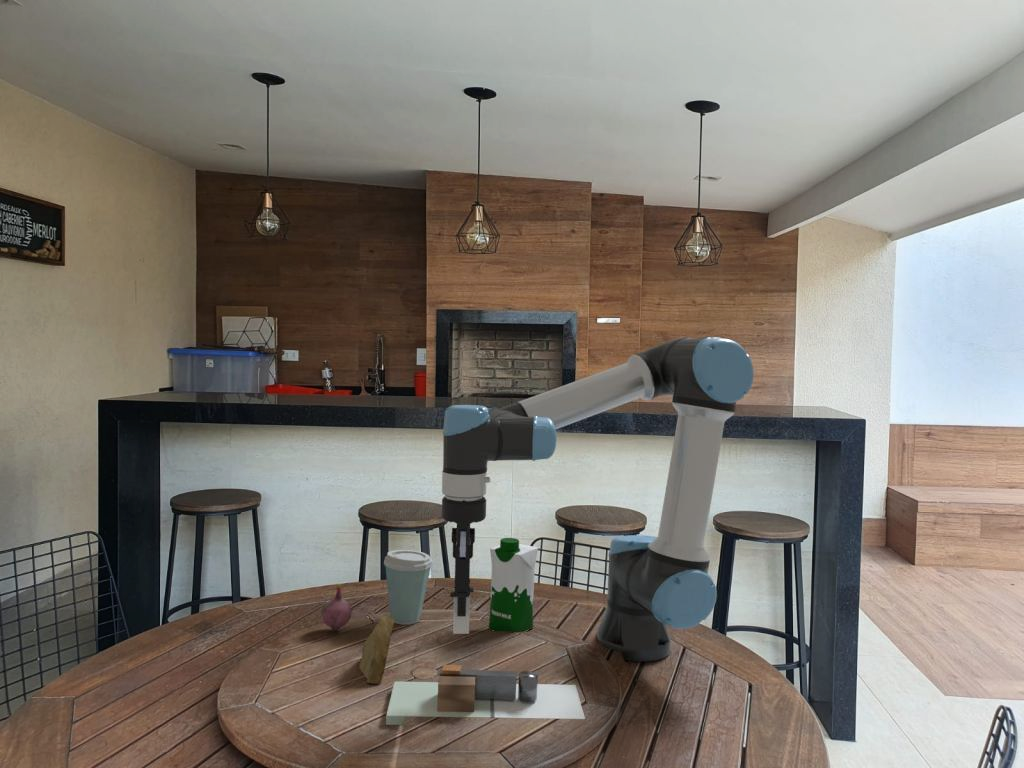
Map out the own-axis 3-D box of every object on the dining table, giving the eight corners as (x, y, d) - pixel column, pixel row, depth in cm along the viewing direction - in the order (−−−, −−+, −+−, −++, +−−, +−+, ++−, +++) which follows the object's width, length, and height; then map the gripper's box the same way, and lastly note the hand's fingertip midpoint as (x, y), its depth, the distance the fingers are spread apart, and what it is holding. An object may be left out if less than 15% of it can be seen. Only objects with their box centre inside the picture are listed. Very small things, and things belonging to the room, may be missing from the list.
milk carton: (482, 630, 159) (486, 538, 158) (505, 618, 166) (509, 530, 165) (517, 640, 154) (521, 546, 153) (539, 628, 162) (543, 537, 161)
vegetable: (355, 633, 155) (357, 586, 154) (327, 638, 151) (328, 590, 151) (344, 623, 160) (346, 577, 159) (316, 628, 156) (318, 582, 156)
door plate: (574, 693, 132) (575, 684, 132) (584, 727, 120) (585, 718, 120) (394, 689, 130) (394, 681, 130) (386, 724, 118) (386, 715, 118)
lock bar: (536, 693, 127) (537, 667, 127) (537, 702, 124) (538, 676, 123) (440, 689, 127) (441, 663, 127) (437, 698, 124) (439, 671, 124)
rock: (393, 677, 130) (415, 648, 140) (365, 637, 130) (389, 610, 140) (349, 702, 134) (374, 672, 143) (322, 663, 134) (348, 636, 143)
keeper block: (474, 703, 123) (475, 676, 123) (474, 712, 120) (475, 685, 120) (438, 702, 123) (439, 676, 123) (437, 711, 120) (438, 684, 120)
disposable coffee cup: (405, 607, 171) (407, 543, 170) (440, 619, 164) (443, 552, 163) (371, 620, 162) (373, 553, 161) (407, 633, 156) (409, 563, 155)
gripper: (486, 505, 119) (483, 647, 121) (485, 488, 132) (482, 618, 134) (440, 504, 119) (437, 647, 120) (443, 488, 132) (441, 617, 133)
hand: (461, 631), depth 127 cm, fingers closed
